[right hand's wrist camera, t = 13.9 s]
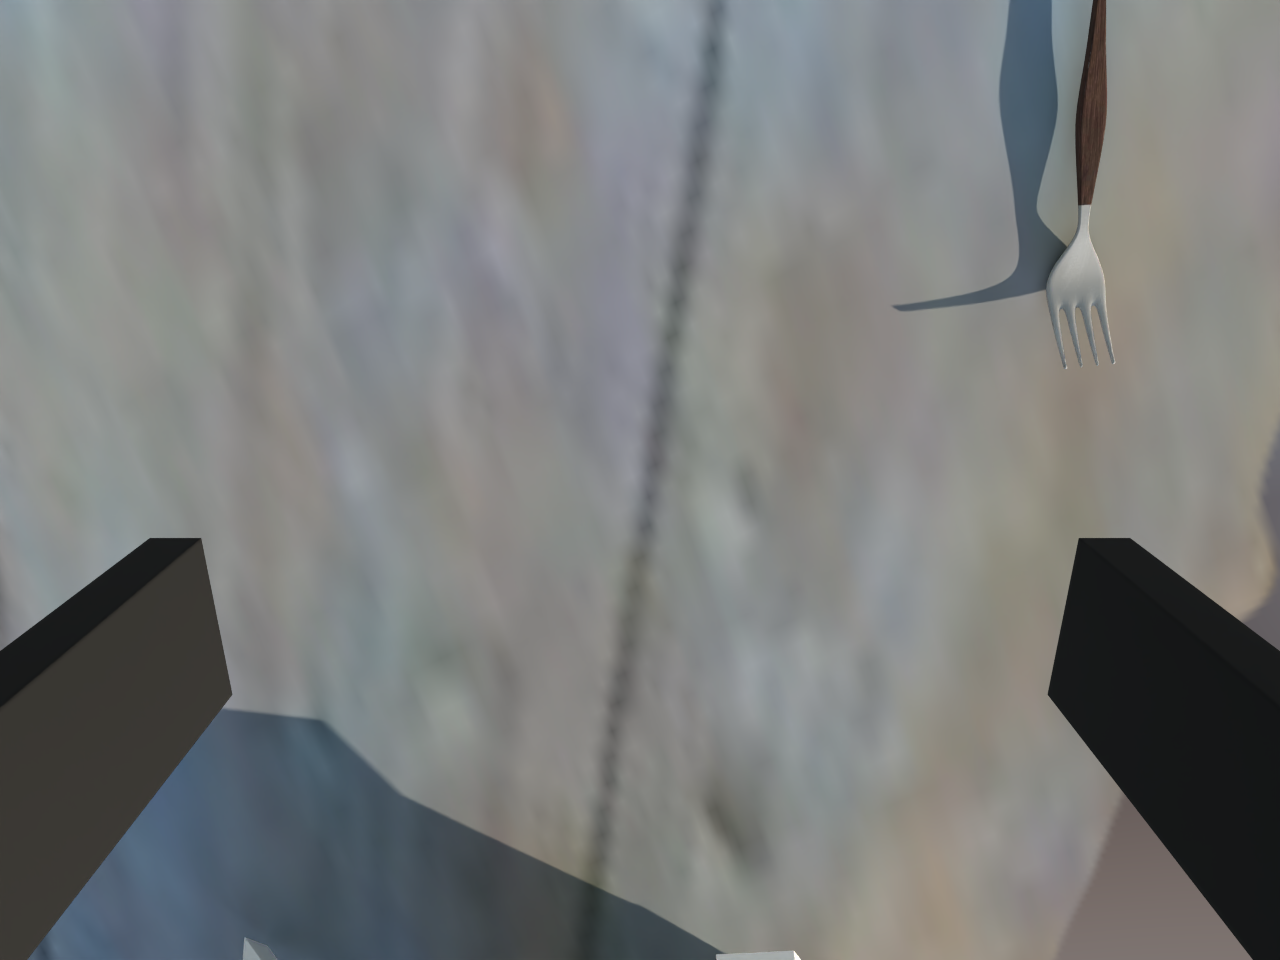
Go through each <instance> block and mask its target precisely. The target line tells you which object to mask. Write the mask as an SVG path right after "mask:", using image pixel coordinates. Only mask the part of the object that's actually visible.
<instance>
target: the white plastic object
mask: <svg viewBox="0 0 1280 960" xmlns="http://www.w3.org/2000/svg"><path fill="white" fill-rule="evenodd" d="M243 960H278V959H277V958H276V956H275V955H274V954H273V952H272V951H271V950H270V948H269V947H268V946H267V945H265V944H262V943H259V942H256V941H254V940H251V939H248V938H245V937H244V949H243ZM716 960H801V959H800V958H799V957H798V955H797V954H796V953H795V952H794V951H775V952H754V953H733V954H716Z"/></svg>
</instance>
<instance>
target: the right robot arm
mask: <svg viewBox="0 0 1280 960" xmlns="http://www.w3.org/2000/svg"><path fill="white" fill-rule="evenodd" d="M231 696H232V690H231V685H230V680H229V675H228V670H227V665H226V660H225V655H224V650H223V645H222V640H221V635H220V630H219V625H218V620H217V615H216V610H215V605H214V600H213V595H212V590H211V585H210V580H209V575H208V570H207V565H206V560H205V555H204V550H203V545H202V540H201V538H149V539H148V540H147V541H145V542H144V543H143V544H141V545H140V546H139V547H138V548H136V549H135V550H134V551H132V552H131V553H130V554H128V555H127V556H126V557H124V558H123V559H122V560H120V561H119V562H118V563H116V564H115V565H114V566H112V567H111V568H110V569H108V570H107V571H106V572H104V573H103V574H102V575H100V576H99V577H98V578H96V579H95V580H94V581H92V582H91V583H90V584H89V585H87V586H86V587H85V588H83V589H82V590H81V591H79V592H78V593H77V594H75V595H74V596H73V597H71V598H70V599H69V600H67V601H66V602H65V603H63V604H62V605H61V606H59V607H58V608H57V609H55V610H54V611H53V612H51V613H50V614H49V615H47V616H46V617H45V618H44V619H42V620H41V621H40V622H38V623H37V624H36V625H34V626H33V627H32V628H30V629H29V630H28V631H26V632H25V633H24V634H22V635H21V636H20V637H18V638H17V639H16V640H14V641H13V642H12V643H10V644H9V645H8V646H6V647H5V648H4V649H2V650H1V651H0V960H27V959H28V958H29V957H30V955H31V954H32V953H33V951H34V950H35V949H36V947H37V946H38V945H39V944H40V942H41V941H42V940H43V938H44V937H45V936H46V935H47V933H48V932H49V931H50V929H51V928H52V927H53V926H54V924H55V923H56V922H57V920H58V919H59V918H60V916H61V915H62V914H63V913H64V911H65V910H66V909H67V907H68V906H69V905H70V904H71V902H72V901H73V900H74V898H75V897H76V896H77V895H78V893H79V892H80V891H81V889H82V888H83V887H84V885H85V884H86V883H87V882H88V880H89V879H90V878H91V876H92V875H93V874H94V873H95V871H96V870H97V869H98V867H99V866H100V865H101V864H102V862H103V861H104V860H105V858H106V857H107V856H108V854H109V853H110V852H111V851H112V849H113V848H114V847H115V845H116V844H117V843H118V842H119V840H120V839H121V838H122V836H123V835H124V834H125V833H126V831H127V830H128V829H129V827H130V826H131V825H132V823H133V822H134V821H135V820H136V818H137V817H138V816H139V814H140V813H141V812H142V811H143V809H144V808H145V807H146V805H147V804H148V803H149V802H150V800H151V799H152V798H153V796H154V795H155V794H156V792H157V791H158V790H159V789H160V787H161V786H162V785H163V783H164V782H165V781H166V780H167V778H168V777H169V776H170V774H171V773H172V772H173V771H174V769H175V768H176V767H177V765H178V764H179V763H180V761H181V760H182V759H183V758H184V756H185V755H186V754H187V752H188V751H189V750H190V749H191V747H192V746H193V745H194V743H195V742H196V741H197V740H198V738H199V737H200V736H201V734H202V733H203V732H204V730H205V729H206V728H207V727H208V725H209V724H210V723H211V721H212V720H213V719H214V718H215V716H216V715H217V714H218V712H219V711H220V710H221V709H222V707H223V706H224V705H225V703H226V702H227V701H228V700H229V698H230V697H231ZM1048 696H1049V697H1050V698H1051V700H1052V701H1053V702H1054V703H1055V705H1056V706H1057V707H1058V709H1059V710H1060V711H1061V712H1062V714H1063V715H1064V716H1065V718H1066V719H1067V720H1068V721H1069V723H1070V724H1071V725H1072V727H1073V728H1074V729H1075V730H1076V732H1077V733H1078V734H1079V736H1080V737H1081V738H1082V740H1083V741H1084V742H1085V743H1086V745H1087V746H1088V747H1089V749H1090V750H1091V751H1092V752H1093V754H1094V755H1095V756H1096V758H1097V759H1098V760H1099V761H1100V763H1101V764H1102V765H1103V767H1104V768H1105V769H1106V771H1107V772H1108V773H1109V774H1110V776H1111V777H1112V778H1113V780H1114V781H1115V782H1116V783H1117V785H1118V786H1119V787H1120V789H1121V790H1122V791H1123V792H1124V794H1125V795H1126V796H1127V798H1128V799H1129V800H1130V802H1131V803H1132V804H1133V805H1134V807H1135V808H1136V809H1137V811H1138V812H1139V813H1140V814H1141V816H1142V817H1143V818H1144V820H1145V821H1146V822H1147V823H1148V825H1149V826H1150V827H1151V829H1152V830H1153V831H1154V833H1155V834H1156V835H1157V836H1158V838H1159V839H1160V840H1161V842H1162V843H1163V844H1164V845H1165V847H1166V848H1167V849H1168V851H1169V852H1170V853H1171V854H1172V856H1173V857H1174V858H1175V860H1176V861H1177V862H1178V864H1179V865H1180V866H1181V867H1182V869H1183V870H1184V871H1185V873H1186V874H1187V875H1188V876H1189V878H1190V879H1191V880H1192V882H1193V883H1194V884H1195V885H1196V887H1197V888H1198V889H1199V891H1200V892H1201V893H1202V895H1203V896H1204V897H1205V898H1206V900H1207V901H1208V902H1209V904H1210V905H1211V906H1212V907H1213V909H1214V910H1215V911H1216V913H1217V914H1218V915H1219V916H1220V918H1221V919H1222V920H1223V922H1224V923H1225V924H1226V925H1227V927H1228V928H1229V929H1230V931H1231V932H1232V933H1233V935H1234V936H1235V937H1236V938H1237V940H1238V941H1239V942H1240V944H1241V945H1242V946H1243V947H1244V949H1245V950H1246V951H1247V953H1248V954H1249V955H1250V957H1251V958H1252V959H1253V960H1280V651H1279V650H1278V649H1276V648H1275V647H1274V646H1272V645H1271V644H1270V643H1268V642H1267V641H1266V640H1264V639H1263V638H1262V637H1260V636H1259V635H1258V634H1256V633H1255V632H1254V631H1252V630H1251V629H1250V628H1248V627H1247V626H1246V625H1244V624H1243V623H1242V622H1240V621H1239V620H1238V619H1236V618H1235V617H1234V616H1233V615H1231V614H1230V613H1229V612H1227V611H1226V610H1225V609H1223V608H1222V607H1221V606H1219V605H1218V604H1217V603H1215V602H1214V601H1213V600H1211V599H1210V598H1209V597H1207V596H1206V595H1205V594H1203V593H1202V592H1201V591H1199V590H1198V589H1197V588H1195V587H1194V586H1193V585H1191V584H1190V583H1189V582H1188V581H1186V580H1185V579H1184V578H1182V577H1181V576H1180V575H1178V574H1177V573H1176V572H1174V571H1173V570H1172V569H1170V568H1169V567H1168V566H1166V565H1165V564H1164V563H1162V562H1161V561H1160V560H1158V559H1157V558H1156V557H1154V556H1153V555H1152V554H1150V553H1149V552H1148V551H1146V550H1145V549H1144V548H1142V547H1141V546H1140V545H1139V544H1137V543H1136V542H1135V541H1133V540H1132V539H1131V538H1079V540H1078V545H1077V550H1076V555H1075V560H1074V565H1073V570H1072V575H1071V580H1070V585H1069V590H1068V595H1067V600H1066V605H1065V610H1064V615H1063V620H1062V625H1061V630H1060V635H1059V640H1058V645H1057V650H1056V655H1055V660H1054V665H1053V670H1052V675H1051V680H1050V685H1049V690H1048Z"/></svg>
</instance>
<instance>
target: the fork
mask: <svg viewBox="0 0 1280 960" xmlns="http://www.w3.org/2000/svg"><path fill="white" fill-rule="evenodd" d="M1106 114H1107V75H1106V0H1093V5H1092V13H1091V20H1090V27H1089V35H1088V42H1087V49H1086V55H1085V61H1084V67H1083V73H1082V79H1081V85H1080V91H1079V97H1078V104H1077V113H1076V131H1075V138H1076V168H1077V189H1078V227H1077V231H1076V234H1075V236H1074V238H1073V239H1072V241H1071V243H1070V244H1069V246H1068V247H1067V248H1066V250H1065V251H1064V253H1063V254H1062V255H1061V257H1060V258H1059V259H1058V261H1057V262H1056V264H1055V265H1054V267H1053V269H1052V271H1051V273H1050V275H1049V278H1048V281H1047V286H1046V296H1047V302H1048V307H1049V312H1050V316H1051V321H1052V325H1053V330H1054V334H1055V338H1056V341H1057V345H1058V349H1059V352H1060V356H1061V360H1062V363H1063V367H1064V369H1066V368H1067V365H1066V361H1065V355H1064V349H1063V342H1062V335H1061V328H1060V321H1059V311H1060V309H1063V310H1064V311H1065V314H1066V317H1067V320H1068V325H1069V329H1070V333H1071V336H1072V340H1073V344H1074V347H1075V351H1076V355H1077V358H1078V361H1079V365H1080V367H1082V366H1083V365H1082V360H1081V354H1080V348H1079V341H1078V334H1077V328H1076V320H1075V309H1076V307H1079V308H1080V310H1081V312H1082V316H1083V319H1084V324H1085V328H1086V331H1087V335H1088V339H1089V342H1090V346H1091V350H1092V353H1093V356H1094V360H1095V363H1096V365H1097V366H1098V364H1099V362H1098V358H1097V352H1096V346H1095V340H1094V333H1093V327H1092V320H1091V307H1092V306H1093V305H1094V306H1095V307H1096V308H1097V311H1098V314H1099V318H1100V322H1101V326H1102V330H1103V334H1104V337H1105V341H1106V345H1107V348H1108V352H1109V355H1110V358H1111V362H1112V364H1114V363H1115V360H1114V356H1113V350H1112V344H1111V338H1110V332H1109V326H1108V319H1107V311H1106V296H1105V281H1104V275H1103V271H1102V267H1101V264H1100V261H1099V259H1098V257H1097V254H1096V252H1095V250H1094V248H1093V245H1092V243H1091V240H1090V236H1089V230H1088V224H1089V215H1090V208H1091V203H1092V198H1093V192H1094V187H1095V182H1096V177H1097V172H1098V167H1099V162H1100V156H1101V151H1102V145H1103V139H1104V133H1105V125H1106Z"/></svg>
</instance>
